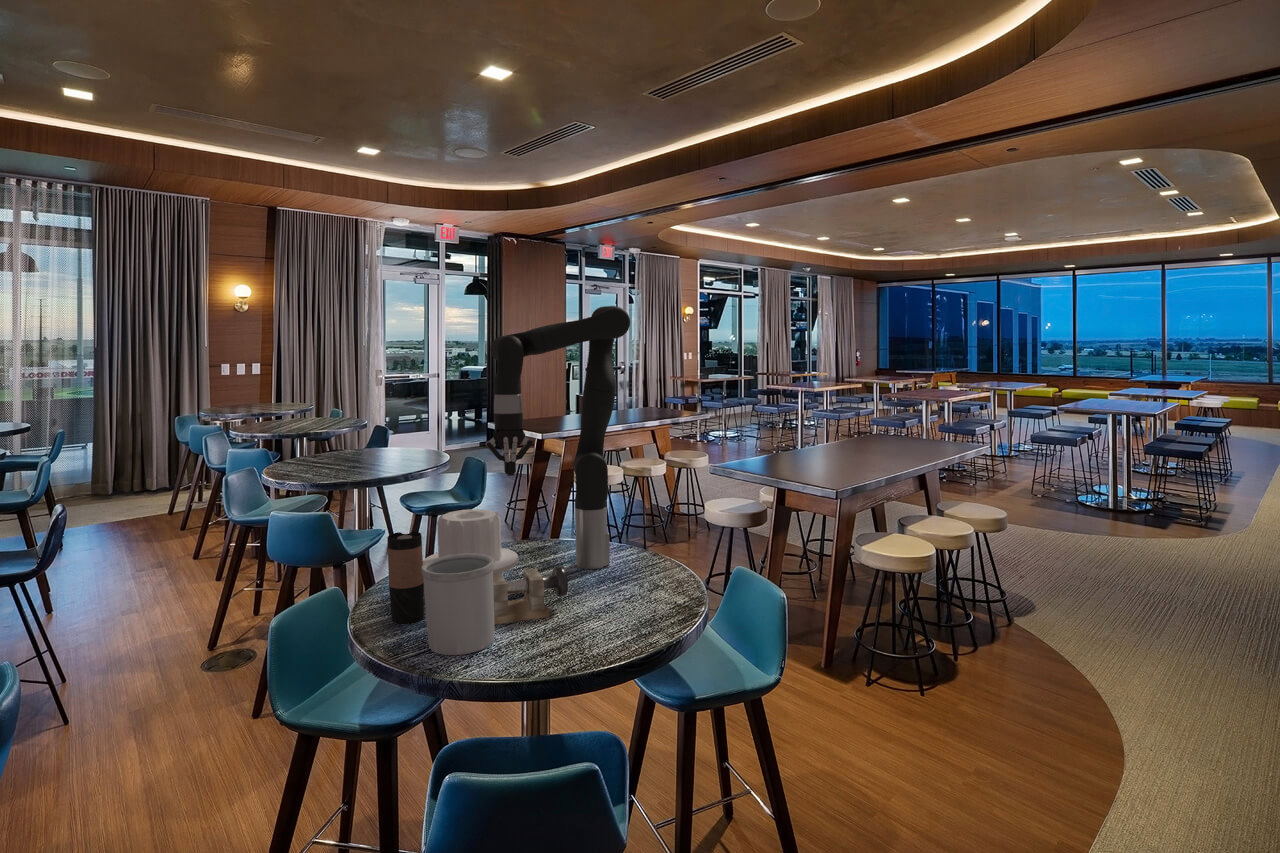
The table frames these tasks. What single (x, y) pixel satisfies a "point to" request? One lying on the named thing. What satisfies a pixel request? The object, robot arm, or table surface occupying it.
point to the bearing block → (520, 608)
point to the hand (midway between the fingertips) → (510, 475)
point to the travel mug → (406, 577)
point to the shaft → (550, 582)
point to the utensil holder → (459, 603)
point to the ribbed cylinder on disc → (473, 537)
